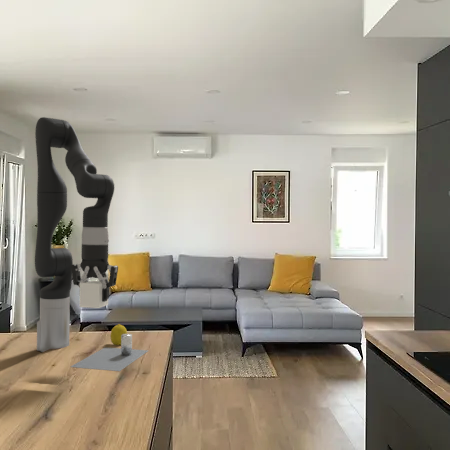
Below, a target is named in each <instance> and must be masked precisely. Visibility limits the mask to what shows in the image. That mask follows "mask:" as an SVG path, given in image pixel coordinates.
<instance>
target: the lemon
mask: <svg viewBox="0 0 450 450" xmlns="http://www.w3.org/2000/svg"><path fill="white" fill-rule="evenodd" d="M122 334H128V331H127V328H126V327H125V326H124V325H122V324H120V323H118V324H117V325H115V326H114V327H112V329H111V331H110V341H111V343H112V344H113V345H114V346H121V335H122Z"/></svg>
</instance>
